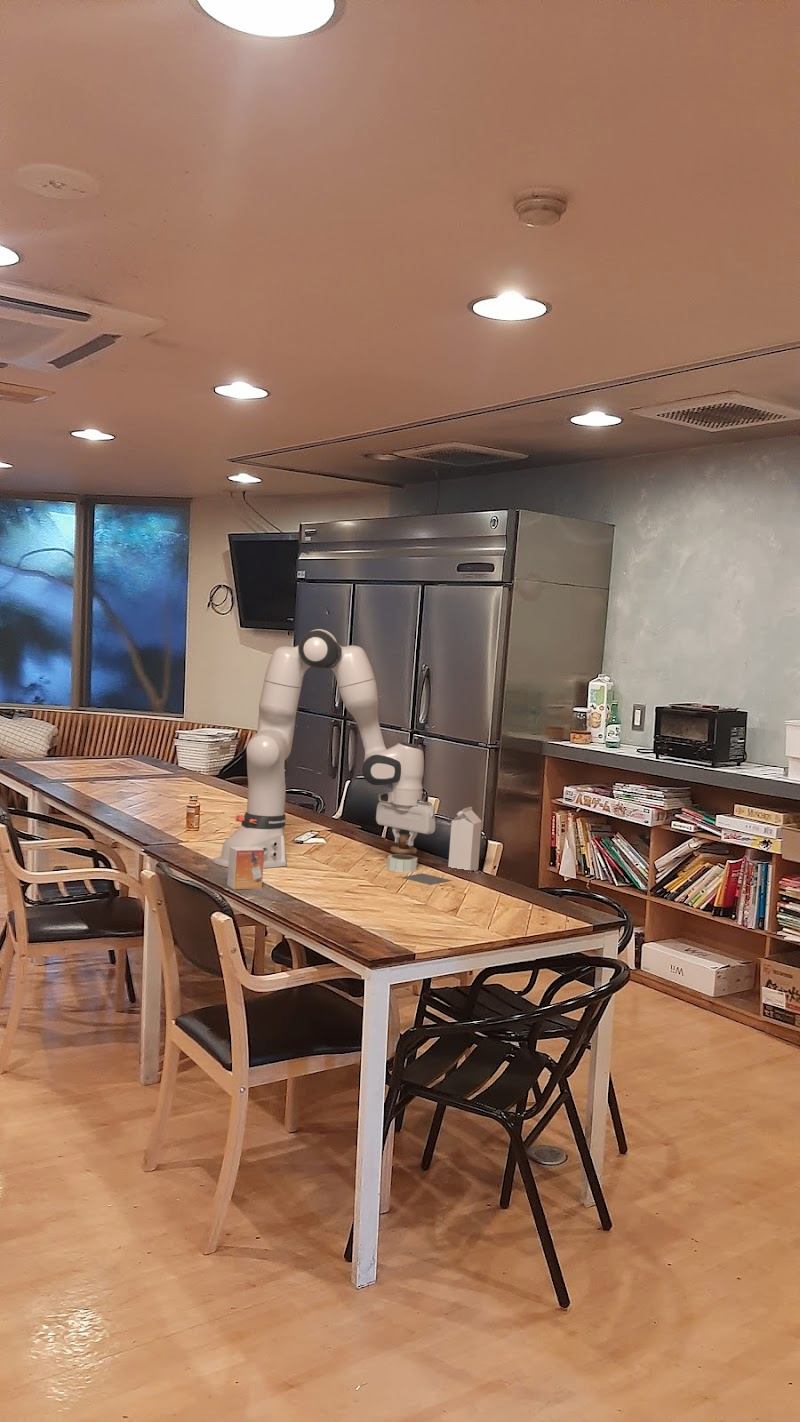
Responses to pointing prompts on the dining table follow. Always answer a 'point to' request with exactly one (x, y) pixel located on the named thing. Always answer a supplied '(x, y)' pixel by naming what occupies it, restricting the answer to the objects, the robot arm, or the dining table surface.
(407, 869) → the bowl
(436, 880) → the mat
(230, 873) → the small box
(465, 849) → the milk carton
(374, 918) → the dining table surface
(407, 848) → the lid
